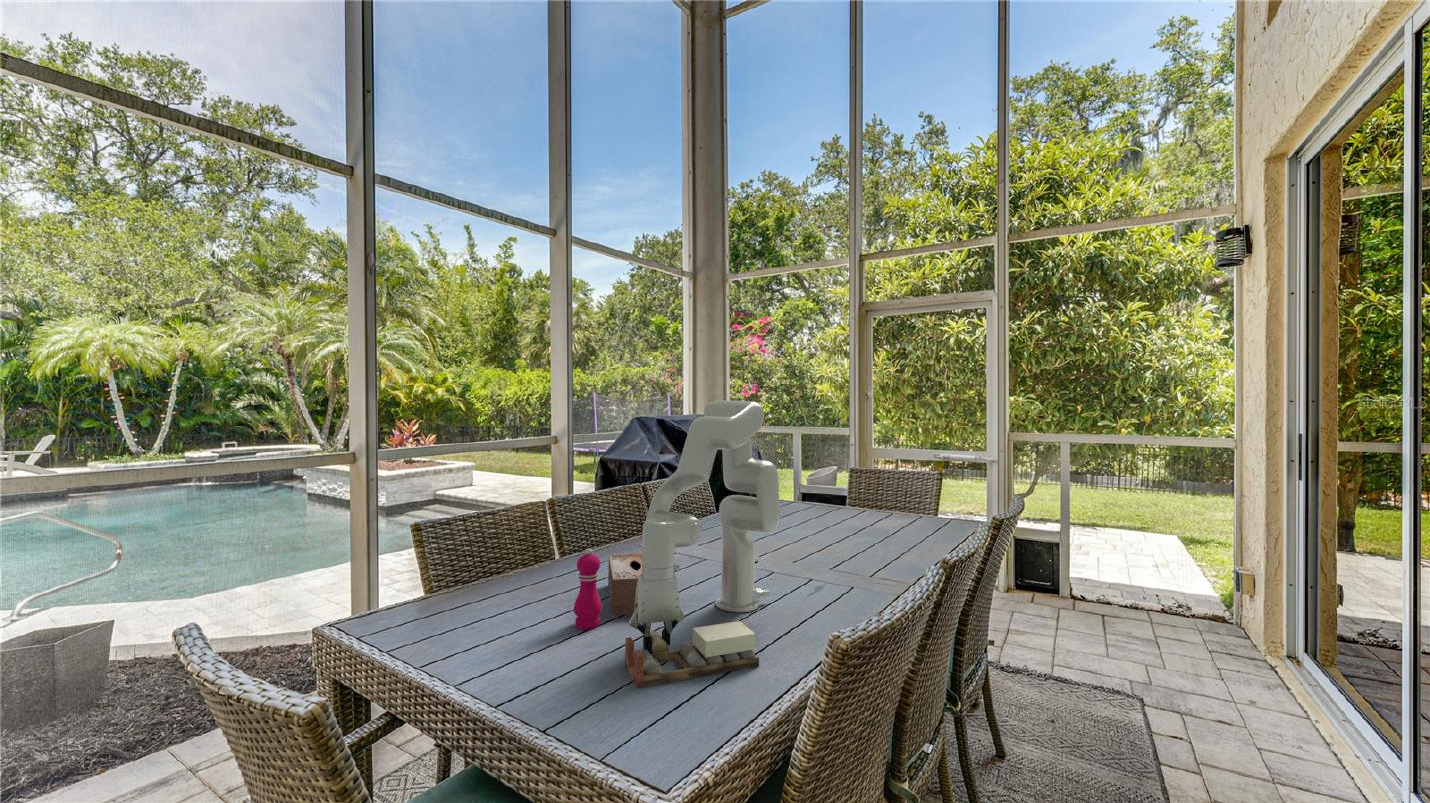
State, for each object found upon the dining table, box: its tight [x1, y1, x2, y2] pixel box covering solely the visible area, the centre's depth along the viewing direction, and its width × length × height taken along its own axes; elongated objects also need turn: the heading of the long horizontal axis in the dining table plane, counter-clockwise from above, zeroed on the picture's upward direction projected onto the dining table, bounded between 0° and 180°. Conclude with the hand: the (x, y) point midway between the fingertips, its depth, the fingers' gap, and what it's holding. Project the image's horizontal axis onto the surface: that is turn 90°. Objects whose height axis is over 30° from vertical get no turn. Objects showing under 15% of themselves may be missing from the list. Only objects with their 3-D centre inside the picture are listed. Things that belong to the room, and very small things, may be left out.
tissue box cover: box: [607, 553, 642, 616], centre depth 177 cm, size 26×14×10 cm, turn 13°
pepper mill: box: [573, 548, 603, 630], centre depth 156 cm, size 7×7×20 cm
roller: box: [650, 630, 669, 654], centre depth 141 cm, size 7×4×4 cm, turn 23°
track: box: [624, 636, 760, 689], centre depth 133 cm, size 28×10×6 cm, turn 113°
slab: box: [692, 620, 756, 657], centre depth 136 cm, size 12×8×4 cm, turn 113°
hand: (656, 649), depth 141 cm, fingers closed on roller, 3 cm apart
